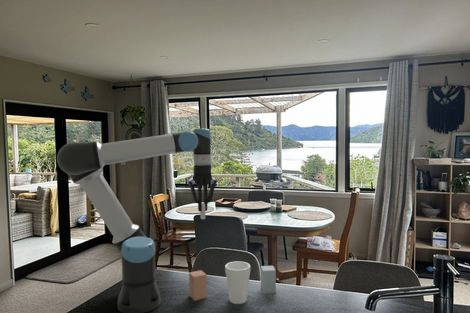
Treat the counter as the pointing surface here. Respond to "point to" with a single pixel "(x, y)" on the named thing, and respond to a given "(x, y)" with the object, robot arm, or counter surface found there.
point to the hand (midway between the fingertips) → (202, 218)
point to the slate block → (268, 279)
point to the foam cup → (237, 281)
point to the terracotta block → (197, 285)
